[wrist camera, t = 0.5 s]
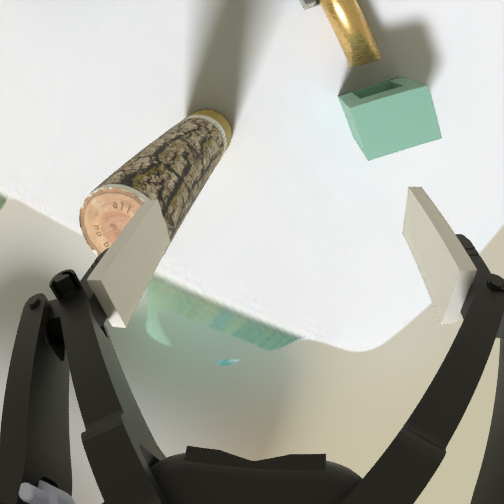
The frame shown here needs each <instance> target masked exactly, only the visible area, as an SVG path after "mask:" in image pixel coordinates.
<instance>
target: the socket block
mask: <svg viewBox="0 0 504 504" xmlns="http://www.w3.org/2000/svg"><path fill="white" fill-rule="evenodd" d="M338 98H339V100H340V103H341V105H342V108H343V110H344V113H345V116H346V118H347V121H348V124H349V126H350V129H351V132H352V134H353V137H354V139H355V141H356V142H357V144H358V145H359V147H360V148H361V150H362V152H363V153H364V155H365V156H366V158H367V160H368V161H369V160H372V159H375V158H379V157H382V156H385V155H388V154H391V153H394V152H398V151H401V150H404V149H407V148H411V147H414V146H417V145H420V144H424V143H427V142H431V141H434V140H437V139H441V138H442V137H441V132H440V128H439V124H438V120H437V116H436V112H435V108H434V104H433V101H432V97H431V94H430V90H429V87H428V85H425V84H422V83H419V82H416V81H413V80H409V79H406V78H403V77H400V78H396V79H392V80H389V81H385V82H382V83H378V84H375V85H372V86H368V87H365V88H362V89H359V90H355V91H352V92H349V93H346V94H343V95H340V96H338Z"/></svg>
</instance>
